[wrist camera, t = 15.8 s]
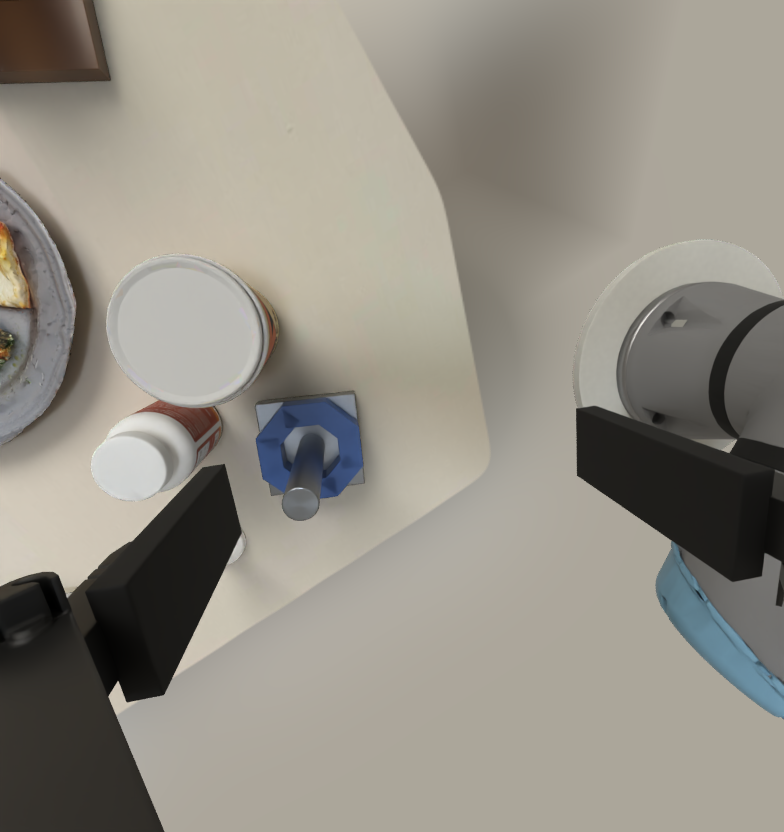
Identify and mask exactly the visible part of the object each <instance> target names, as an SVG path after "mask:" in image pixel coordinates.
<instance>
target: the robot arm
mask: <svg viewBox="0 0 784 832" xmlns="http://www.w3.org/2000/svg"><path fill="white" fill-rule="evenodd" d="M616 380H617V388H618V393H619V396H620V399H621V402H622V404H623V406H624V408H625V409H626V411H627V412H628V414H629V415H630V416H631V417H632V418H633V419H632V418H629V417H626V416H623V415H620V414H618V413H615V412H612V411H609V410H606V409H604V408H601V407H598V406H589V407H583V408H577V409H576V429H577V476H579V477H580V478H582V479H583V480H584V481H586V482H587V483H589V484H590V485H592V486H593V487H595V488H596V489H597V490H599V491H600V492H602V493H603V494H605V495H606V496H608V497H609V498H611V499H612V500H613V501H615V502H616V503H618V504H620V505H621V506H622V507H624V508H625V509H627V510H628V511H630V512H631V513H632V514H634V515H635V516H637V517H638V518H640V519H641V520H643V521H644V522H645V523H647V524H648V525H650V526H651V527H653V528H654V529H656V530H657V531H659V532H660V533H661V534H663V535H664V536H666V537H667V538H669V539H670V540H672V542H671V548H672V549H671V550H670V552H669V554H668V556H667V558H666V560H665V562H664V564H663V566H662V568H661V570H660V572H659V573H658V576H657V579H656V593H657V597H658V599H659V602H660V604H661V607H662V608H663V610H664V611H665V613H666V614H667V615H668V617H669V620H670V621H671V622H672V624H673V625H674V626H675V628H676V629H677V630H678V631H679V632H680V634H681V635H682V636H683V637H684V638H685V639H686V641H687V642H688V643H689V644H690V645H691V646H692V647H693V648H694V649H695V650H696V651H697V652H698V653H699V654H700V655H701V656H702V657H703V658H704V659H705V660H706V661H707V662H708V663H709V664H710V665H711V666H712V667H713V668H714V669H715V670H716V671H718V672H719V673H720V674H721V675H722V676H723V677H724V678H726V679H727V680H728V681H729V682H730V683H731V684H733V685H734V686H735V687H736V688H737V689H739V690H740V691H741V692H742V693H744V694H745V695H746V696H747V697H748V698H750V699H751V700H753V701H754V702H755V703H756V704H758V705H759V706H760V707H762V708H763V709H765V710H766V711H768V712H769V713H771V714H772V715H774V716H776V717H782V718H783V719H784V299H782V298H778V297H775V296H772V295H769V294H765V293H762V292H759V291H756V290H752V289H749V288H746V287H743V286H739V285H736V284H732V283H724V282H699V283H690V284H685V285H681V286H678V287H676V288H673V289H671V290H669V291H667V292H665V293H663V294H662V295H660V296H659V297H657V298H656V299H655V300H653V301H652V302H651V303H650V304H649V305H647V306H646V307H645V308H644V310H643V311H642V312H641V313H640V314H639V315H638V316H637V318H636V319H635V320H634V322H633V323H632V325H631V326H630V328H629V330H628V332H627V334H626V336H625V338H624V340H623V343H622V345H621V348H620V352H619V355H618V361H617V369H616ZM690 439H737V442H736V443H735V445H734V447H733V448H732V450H731V452H730V453H727V452H724V451H721V450H718V449H716V448H713V447H710V446H707V445H704V444H702V443H699V442H696V441H693V440H690ZM241 534H242V531H241V527H240V523H239V519H238V515H237V511H236V507H235V503H234V499H233V495H232V491H231V487H230V483H229V479H228V475H227V471H226V467H225V464H221V465H215V466H209V467H203V468H202V469H201V470H200V471H199V472H198V473H197V474H196V475H195V476H194V477H193V478H192V479H191V480H190V481H189V482H188V483H187V484H186V486H185V487H184V488H183V489H182V490H181V491H180V492H179V493H178V494H177V495H176V496H175V497H174V498H173V499H172V500H171V501H170V502H169V503H168V505H167V506H166V507H165V508H164V509H163V510H162V511H161V512H160V513H159V514H158V515H157V516H156V517H155V518H154V519H153V520H152V521H151V522H150V523H149V525H148V526H147V527H146V528H145V529H144V530H143V531H142V532H141V533H140V534H139V535H138V536H137V537H136V538H135V539H134V540H133V541H132V542H128V543H127V544H125V545H124V546H122V547H121V548H119V549H118V550H116V551H115V552H113V553H112V554H110V555H109V556H108V557H107V558H106V559H105V560H104V561H103V562H102V563H101V564H100V565H99V566H98V569H95V570H94V571H93V572H92V573H91V574H90V575H89V576H88V580H85V581H84V582H83V583H82V584H81V585H80V586H79V587H78V588H77V589H76V590H75V591H74V592H73V593H72V594H71V595H70V596H69V597H68V598H67V596H66V593H65V591H64V588H63V586H62V583H61V581H60V578H59V576H58V575H57V574H56V573H54V572H41V573H36V574H32V575H28V576H25V577H22V578H19V579H16V580H14V581H11V582H9V583H7V584H5V585H3V586H1V587H0V832H164V830H163V827H162V825H161V822H160V820H159V818H158V815H157V813H156V810H155V808H154V806H153V804H152V801H151V798H150V796H149V794H148V791H147V789H146V786H145V784H144V782H143V779H142V777H141V774H140V772H139V770H138V767H137V765H136V762H135V760H134V758H133V755H132V753H131V751H130V748H129V746H128V743H127V741H126V738H125V736H124V734H123V732H122V729H121V726H120V724H119V722H118V719H117V717H116V714H115V712H114V710H113V707H112V705H111V702H110V700H109V698H108V696H109V694H110V693H111V691H112V689H113V688H114V686H115V685H116V683H117V681H119V683H120V686H121V689H122V691H123V694H124V697H125V699H126V702H131V701H136V700H141V699H146V698H152V697H157V696H162V695H164V694H165V692H166V690H167V688H168V686H169V684H170V682H171V679H172V677H173V675H174V673H175V671H176V669H177V667H178V665H179V663H180V661H181V659H182V657H183V654H184V652H185V650H186V648H187V646H188V644H189V642H190V640H191V638H192V636H193V634H194V632H195V629H196V627H197V625H198V623H199V621H200V619H201V617H202V615H203V613H204V611H205V609H206V607H207V604H208V602H209V600H210V598H211V596H212V594H213V592H214V590H215V588H216V586H217V584H218V582H219V580H220V577H221V575H222V573H223V571H224V569H225V567H226V565H227V563H228V561H229V559H230V557H231V555H232V552H233V550H234V548H235V546H236V544H237V542H238V540H239V538H240V536H241Z"/></svg>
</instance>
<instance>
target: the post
mask: <svg viewBox="0 0 784 832" xmlns="http://www.w3.org/2000/svg"><path fill="white" fill-rule="evenodd" d="M323 397H326V398H328V399H329V400H330V401H332V402H333V403H334V404H336V405H337V406H338V407H340V408H341V409H342V410H343V411H345V412H346V413H347V414H349V415H350V416H351V417H353V418H354V419H355V420H357V421H358V418H357V409H356V400H355V393H354V391H348V392H338V393H329V394H320V395H311V396H302V397H293V398H284V399H274V400H265V401H258V402H257V403H256V404H255V409H256V414H257V420H258V425H259V431H260V432H261V431H262V429H263V428H264V427H265V426H266V424H267V423H268V422H269V421H270V419H271V418H272V417H273V416H274V414H275V413H276V412H277V411H278V409H279V408H280V407H281V406H282V404H283V403H284V402H287V401H296V400H305V399H314V398H323ZM284 447H285V453H286V459H287V461H289V462H290V463H292V464H293V466H292V469H291V472H290V476H289V479H288V483H287V486H286V489H285V493H283V492H282V491H280V490H279V489H277V488H276V487H274V486H273V485H271V484H270V483H269V487H270V492H271V496H274V495H281V494H284V496H283V499H282V509H283V511H284V513H285V514H286V515H287V516H288V517H289V518H291V519H293V520H297V521H304V520H307V519H310V518H311V517H313V516H314V515H315V514H316V513H317V511H318V509H319V503H320V493H321V483H322V473H323V470H327V469H328V468H329V466H330V465H331V464H332V463H333V462H334V460H335V459H336V458H337V457H338V455H339V446H338V438H336V437H335V436H333V435H332V434H331V433H329V432H328V431H327V430H325V429H324V428H323V427H321V426H320V425H313V426H304V427H295V428H294V429H293V431H292V432H291V433H290V434H289V436H288V437H287V438H286V439H285V440H284ZM364 483H365V480H364V471H363V467H362V468H361V469H360V471H359V472H358V473H357V474H356V475H355V476H354V478H353V479H352V480H351V481H350V482H349V484H348V485H347V486H349V485H356V484H364Z"/></svg>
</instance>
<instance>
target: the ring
mask: <svg viewBox="0 0 784 832" xmlns="http://www.w3.org/2000/svg"><path fill="white" fill-rule="evenodd" d="M313 425H320V426H321V427H323V428H324V429H325V430H327V431H328V432H329V433H331V434H332V435H333V436H335V437H336V438H338V446H339V455H338V457H337V458H336V459H335V460H334V462H333V463H332V464H331V465H330V466H329V468H328V469H327V470H323V473H322V483H321V493H320V499H321V498H329V497H336V496H338V495H339V494H340V493H341V492H342V491H343V490H344V488H345V487H346V486H347V485H348V484H349V482H350V481H351V480H352V479H353V478H354V476H355V475H356V474H357V473H358V472H359V471H360V469H361V468H362V467H363V458H362V449H361V441H360V432H359V424H358V421H357V420H355V419H354V418H353V417H351V416H350V415H349V414H347V413H346V412H345V411H343V410H342V409H341V408H340V407H338V406H337V405H336V404H334V403H333V402H332V401H330V400H329V399H328V398H326V397H323V398H314V399H305V400H296V401H287V402H284V403H283V404H282V406H281V407H280V408H279V409H278V411H277V412H276V413H275V414H274V416H273V417H272V418H271V419H270V421H269V422H268V423H267V424H266V426H265V427H264V428H263V429H262V431H261V432H260V433H259V435H258V436H257V438H256V444H257V450H258V455H259V461H260V466H261V472H262V477H263V479H264V480H265V481H267V482H268V483H270V484H271V485H273V486H274V487H276V488H277V489H279V490H280V491H282V492H283V493H285V489H286V486H287V483H288V479H289V476H290V472H291V469H292V466H293V464H292V463H290V462H289V461H287V459H286V453H285V447H284V440H285V439H286V438H287V437H288V436H289V434H290V433H291V432H292V431H293V429H294V428H295V427H304V426H313Z"/></svg>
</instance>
